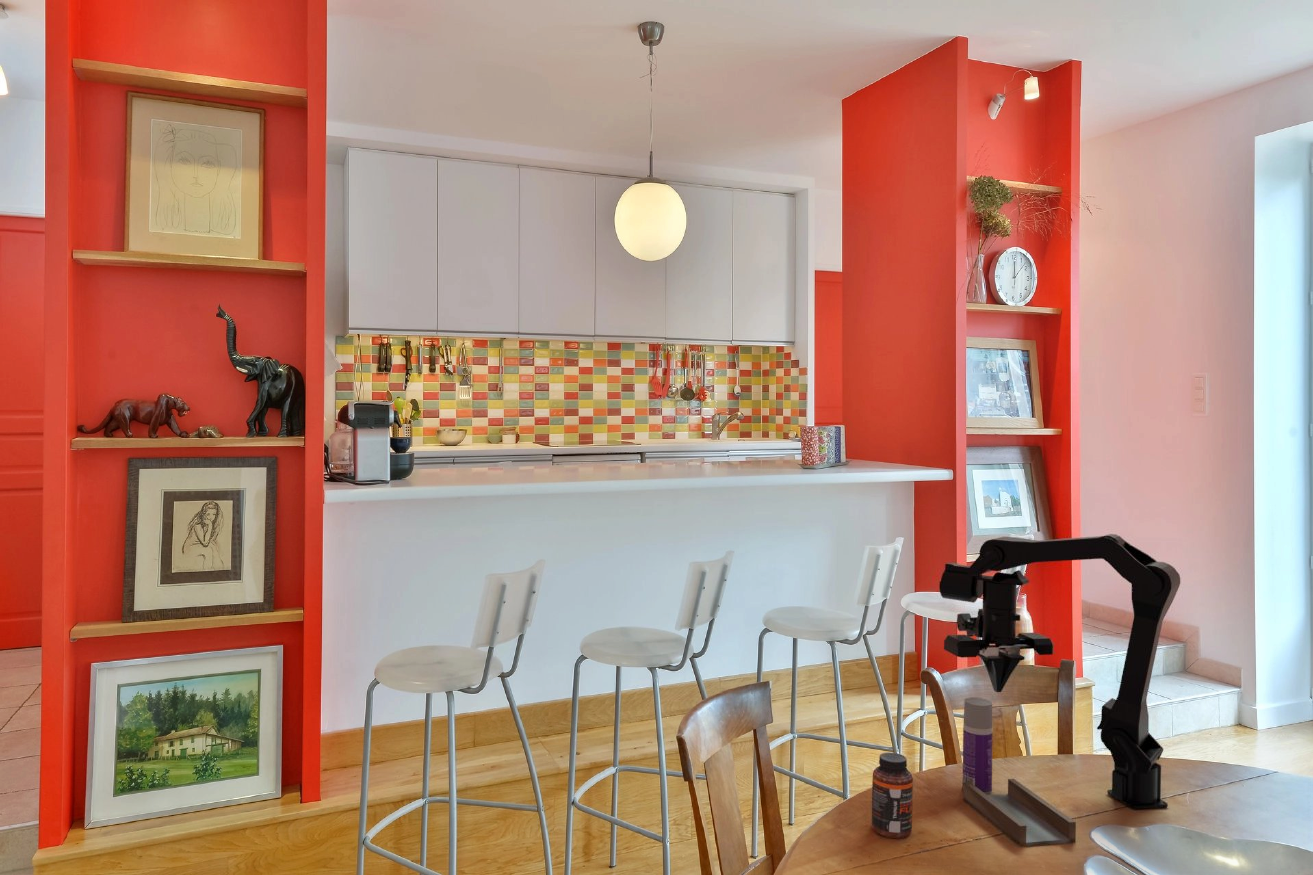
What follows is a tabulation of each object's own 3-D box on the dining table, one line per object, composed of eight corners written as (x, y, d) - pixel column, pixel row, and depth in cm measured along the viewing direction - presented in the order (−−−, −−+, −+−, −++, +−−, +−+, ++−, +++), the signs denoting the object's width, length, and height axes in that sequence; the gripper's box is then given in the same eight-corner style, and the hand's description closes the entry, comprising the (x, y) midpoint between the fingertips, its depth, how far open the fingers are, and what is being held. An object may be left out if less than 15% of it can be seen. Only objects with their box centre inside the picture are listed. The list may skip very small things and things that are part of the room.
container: (994, 796, 144) (995, 706, 144) (964, 793, 145) (965, 704, 145) (989, 785, 149) (990, 698, 148) (960, 782, 150) (961, 696, 149)
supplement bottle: (905, 844, 127) (906, 767, 127) (866, 833, 130) (867, 758, 130) (916, 828, 132) (917, 754, 132) (878, 818, 136) (879, 746, 135)
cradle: (1013, 796, 144) (1013, 778, 144) (1075, 841, 128) (1075, 821, 128) (963, 799, 143) (963, 781, 143) (1020, 846, 127) (1020, 826, 127)
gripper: (1020, 596, 167) (1019, 677, 168) (930, 598, 164) (928, 680, 165) (1056, 609, 157) (1054, 694, 157) (960, 611, 153) (958, 698, 154)
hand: (997, 691), depth 158 cm, fingers closed
